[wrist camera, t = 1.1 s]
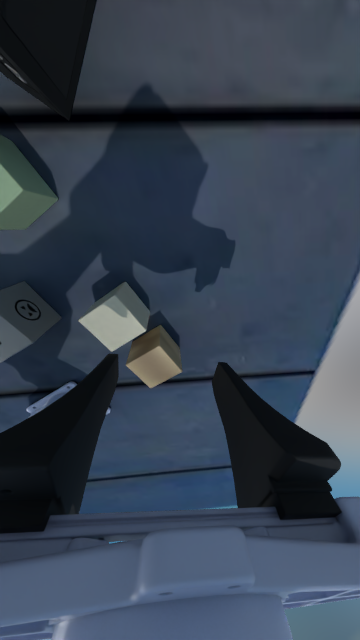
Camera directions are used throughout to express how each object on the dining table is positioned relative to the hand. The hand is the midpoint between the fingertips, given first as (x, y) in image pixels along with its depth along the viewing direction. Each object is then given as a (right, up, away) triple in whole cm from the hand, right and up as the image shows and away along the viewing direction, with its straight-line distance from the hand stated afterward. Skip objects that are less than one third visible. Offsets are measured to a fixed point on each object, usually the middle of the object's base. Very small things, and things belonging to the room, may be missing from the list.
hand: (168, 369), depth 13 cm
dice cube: (-16, +5, +7) cm, 18 cm away
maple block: (-2, 0, +10) cm, 11 cm away
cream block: (-6, +5, +8) cm, 11 cm away
